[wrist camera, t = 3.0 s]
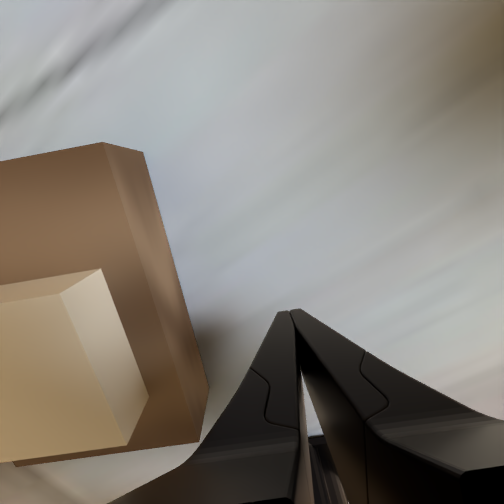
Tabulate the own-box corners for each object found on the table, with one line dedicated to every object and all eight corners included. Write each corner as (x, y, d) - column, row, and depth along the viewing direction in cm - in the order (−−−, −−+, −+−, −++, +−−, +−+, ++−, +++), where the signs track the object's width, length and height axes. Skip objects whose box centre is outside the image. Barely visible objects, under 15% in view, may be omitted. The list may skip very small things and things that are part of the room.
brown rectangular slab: (209, 388, 14) (199, 441, 11) (62, 410, 15) (15, 466, 12) (142, 152, 10) (102, 142, 8) (-54, 188, 11) (-163, 192, 8)
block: (149, 396, 11) (126, 445, 9) (17, 415, 11) (-33, 467, 9) (100, 268, 9) (59, 293, 7) (-55, 294, 9) (-137, 325, 7)
